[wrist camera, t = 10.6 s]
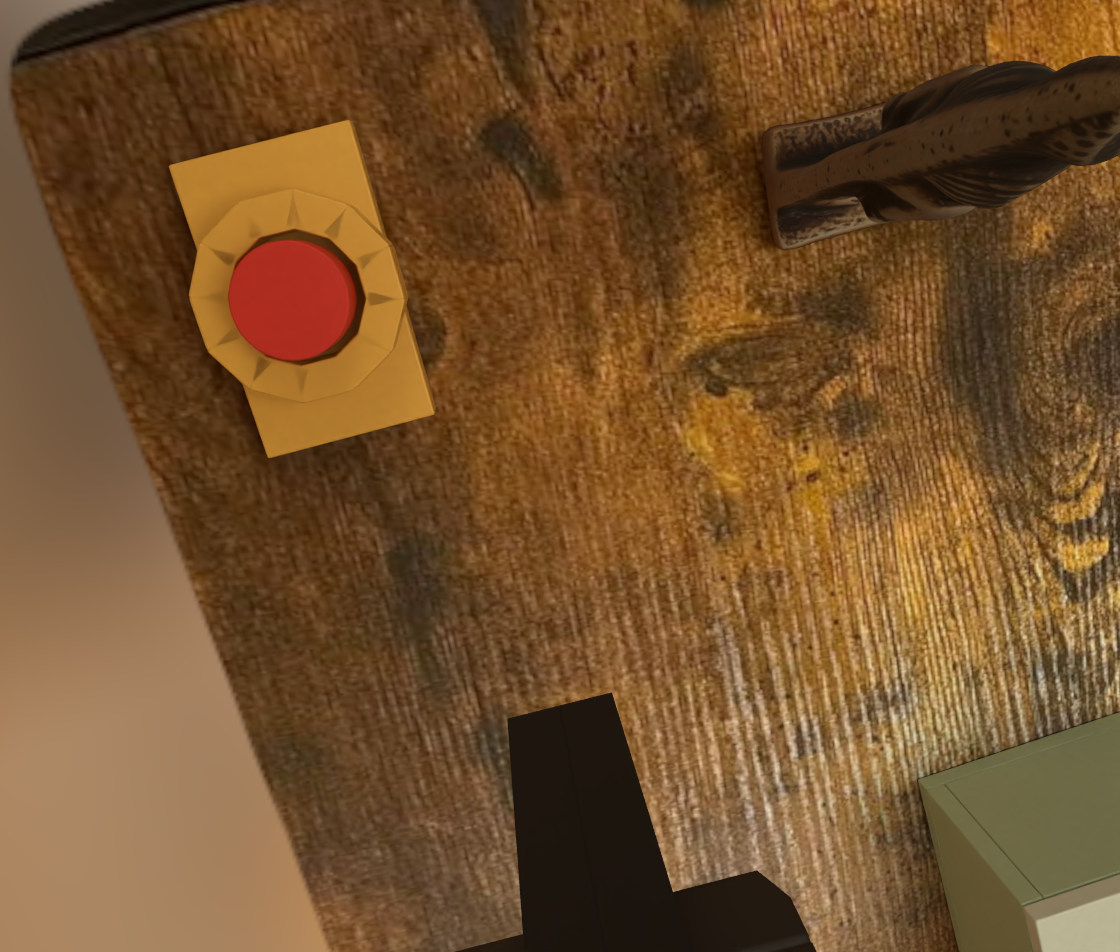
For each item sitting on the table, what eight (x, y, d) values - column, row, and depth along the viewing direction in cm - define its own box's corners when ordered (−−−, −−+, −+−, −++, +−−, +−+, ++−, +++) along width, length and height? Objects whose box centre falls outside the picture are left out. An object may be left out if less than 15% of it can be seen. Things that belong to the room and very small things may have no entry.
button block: (171, 169, 32) (140, 162, 29) (361, 121, 32) (350, 109, 29) (267, 453, 34) (248, 473, 31) (443, 407, 34) (440, 422, 31)
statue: (939, 211, 34) (1548, 173, 15) (750, 258, 34) (1118, 283, 15) (924, 90, 33) (1558, -119, 14) (728, 138, 33) (1093, -5, 14)
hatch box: (1172, 944, 43) (1320, 1092, 36) (973, 1011, 43) (1079, 1175, 36) (1132, 706, 40) (1286, 815, 32) (916, 778, 40) (1021, 904, 32)
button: (225, 256, 30) (210, 256, 28) (337, 227, 30) (329, 226, 28) (262, 366, 31) (250, 374, 29) (370, 338, 31) (364, 344, 29)
